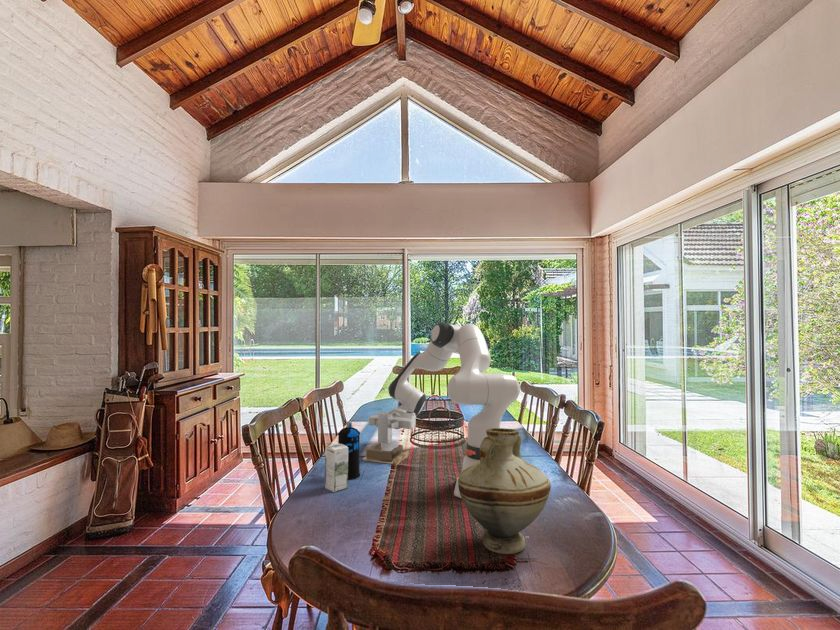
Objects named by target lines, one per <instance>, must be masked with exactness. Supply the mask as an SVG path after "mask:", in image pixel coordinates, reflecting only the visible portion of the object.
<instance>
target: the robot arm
mask: <svg viewBox="0 0 840 630" xmlns="http://www.w3.org/2000/svg"><path fill="white" fill-rule="evenodd" d="M453 354H456V355H459V358H460V368H459V370H458V372H457V373H455V375H452V376H451V378H450V379H449V381H448V383H447V387H446V388H447V389H446V391H447V395H448V398H449V400H450V401H451V402H452V403H454V404H458V405H462V406H482V405H483V407H482V409H481V410H480V411H479V412H478V413H476V414H474V415H473V416H472V417H470V419H469V420H468V423H467V442H466V446H465V456H463V461H462V462H463V463H462V467H461V470H460V472H459V474H460V473H461V472H462V471H463V470H464V469H465V468H466V467H468V466H470V465H471V464H473V463H475V462H477V461H479V460H480V445H481V442H482V440H483V439H484V438H485V437H488V436H487V433H486V430H487V429H491V428H501V423H502V419H503V416H504V414H505V413H506V411H507V409H508V408H509V407H510V406H511V405H512V404H513V403H515V402H516V400H518V398H519V397H520V391H521V387H520V383H519V380H518V379H517V378H516V377H515V376H514V375H512V374H508V373H501V372H496V373H495V372H490V373H489V372H488V373H487V372H486V370H487V369H489V367H490V366H491V364H492V363H491V362H492V358H491V354H490V351H489V347H488V344H487V342H486V338H485V336H484V335H483V332H482V331H481V329H480V327H479V326H477V324H475V323H467V324H463V325H462V326H459V325H456V324H450V323H449V322H445V321H444V322H437V323H436V324H435V325H434V326H433V328H432V329H431V333H430V342H428V345H427V347H426V348H425V350H424V351H422V352H418V353H416V354H414V355H413V356H412V357H411V359H409V360H408V362H407V364H405V366H404V367H403V368H402V369H401V370H400V373H399V374H398V375H397V376H396V377H395V378H394V379H393V380H392V381H391V382H390V384H389V386H388V391H387V392H388V394H389V396H390V397H391V398H392V399H394V400H396V401H398V402H399V403H400V404H401V405H400V406H398V407H395V408H393V409H391V410H390V411H389V412H391V413H392V423H390V424H389V428H392V429H394V430H399V429H403V430H404V429H406V430H413V429H415V427H416V424H417V421H416V419H417V416H419V415H420V414H421V413H422V411H424V408H425V406H426V405H427V396H426V394H425V393H424V392H423V391H422V390H420V389H418V387H415V385H413V384H411V383H410V382H409V381H408V379H409V377H410V376H411V375H412V373H413V372H414V371H415V370H416V369H420V370H424V371H427V372H439V371H441V370H443V369H444V368H445V367H446V366H447V364H448V362H449V360H450V358H451V357H452V355H453ZM485 372H486V373H485ZM378 414H379V413H377V414H376V413H375V414H373V415H369V417H368V424H369V426H376V427H377V428H378ZM492 454H493V449H492V451H491V454H490V456H491V455H492ZM458 478H459V476H458V477H457V478H456V483H455V486H454V490H453V495H454V496H455V497H456V498H459V499H462V498H461V495H460V492H459V486H458Z"/></svg>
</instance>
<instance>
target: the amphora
mask: <svg viewBox="0 0 840 630" xmlns="http://www.w3.org/2000/svg"><path fill="white" fill-rule="evenodd" d="M486 433H487V436H488V437H485V438H484V439H483V440H482V442H481V445H480V460H479V461H477V462H475V463H473V464H471V465H470V466H468V467H466V468H465V469H464V470H463V471H462V470H461V471H462V472H461V471H460V472H461V473H460V472H459V476H458V477H459V478H458V477H457V478H458V486H459V492H460V495H461V498H460V499H461V500H462V502H463V505H464V507H465V508H466V510H467V511H468V512H469V514H470V515H471V517H473V519H474V520H475V521H476V522H477V523H478V524H479V525H480V526H482V528H484V529H485V531H484V532H483V533H482V544H483V546H484V547H485V548H486V549H487V550H489V551H490V552H493V553H496V554H501V555H513V554H517V553H520V552H522V551H523V550H524V549H525V548H526V539H525V537H524V535H523V534H522V533H521V531H524V530H525V529H526V528H527V527H529V526H530V525H532V523H533V522H535V520H536V519H537V518H538V517H539V516H540V514H541V513H542V511H543V510H544V508H545V506H546V504H547V501H548V499H549V496H550V492H551V488H552V485H551V482H550V479H549V478H548V477H547V475H546V474H545V473H544V472H543V471H542V470H540V468H538V467H536V466H535V465H534V464H531V463H530V462H528V461H526V460H525V459H523V458H522V455H521V444H522V438H521V435H520V431H519V430H517V429H514V428H504V427H503V428H502V427H500V428H491V429H487V430H486ZM492 449H493V454H492V455H491V456H490V454H491V451H492Z"/></svg>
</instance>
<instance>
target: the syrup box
mask: <svg viewBox="0 0 840 630" xmlns="http://www.w3.org/2000/svg"><path fill="white" fill-rule="evenodd" d="M324 452H325V454H324V455H325V456H324V457H325V458H324V459H325V461H324V469H325V470H324V488H325V489H326V490H327V491H330V492H331V493H336V492H340V491H343V490H346V489H348V488H349V487H348V485H349V480H348V447H347V446H345V445H343V444H338V443H336V444H331V445H327V446H325V451H324Z"/></svg>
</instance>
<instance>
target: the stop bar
mask: <svg viewBox="0 0 840 630" xmlns="http://www.w3.org/2000/svg"><path fill="white" fill-rule="evenodd" d="M377 414H378V427H377V443H381V444H385V445H388V444H390V443H391V442H393V428H389V424H390V423H392V413H391V412H390V411H382V412H379V413H377Z"/></svg>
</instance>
